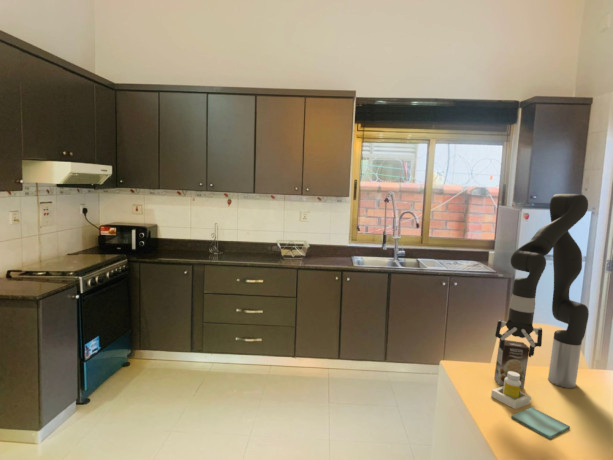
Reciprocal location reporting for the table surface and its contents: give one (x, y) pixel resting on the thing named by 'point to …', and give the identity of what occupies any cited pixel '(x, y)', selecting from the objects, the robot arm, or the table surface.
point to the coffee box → (511, 361)
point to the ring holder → (515, 404)
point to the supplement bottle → (512, 385)
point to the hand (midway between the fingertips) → (515, 353)
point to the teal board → (540, 422)
